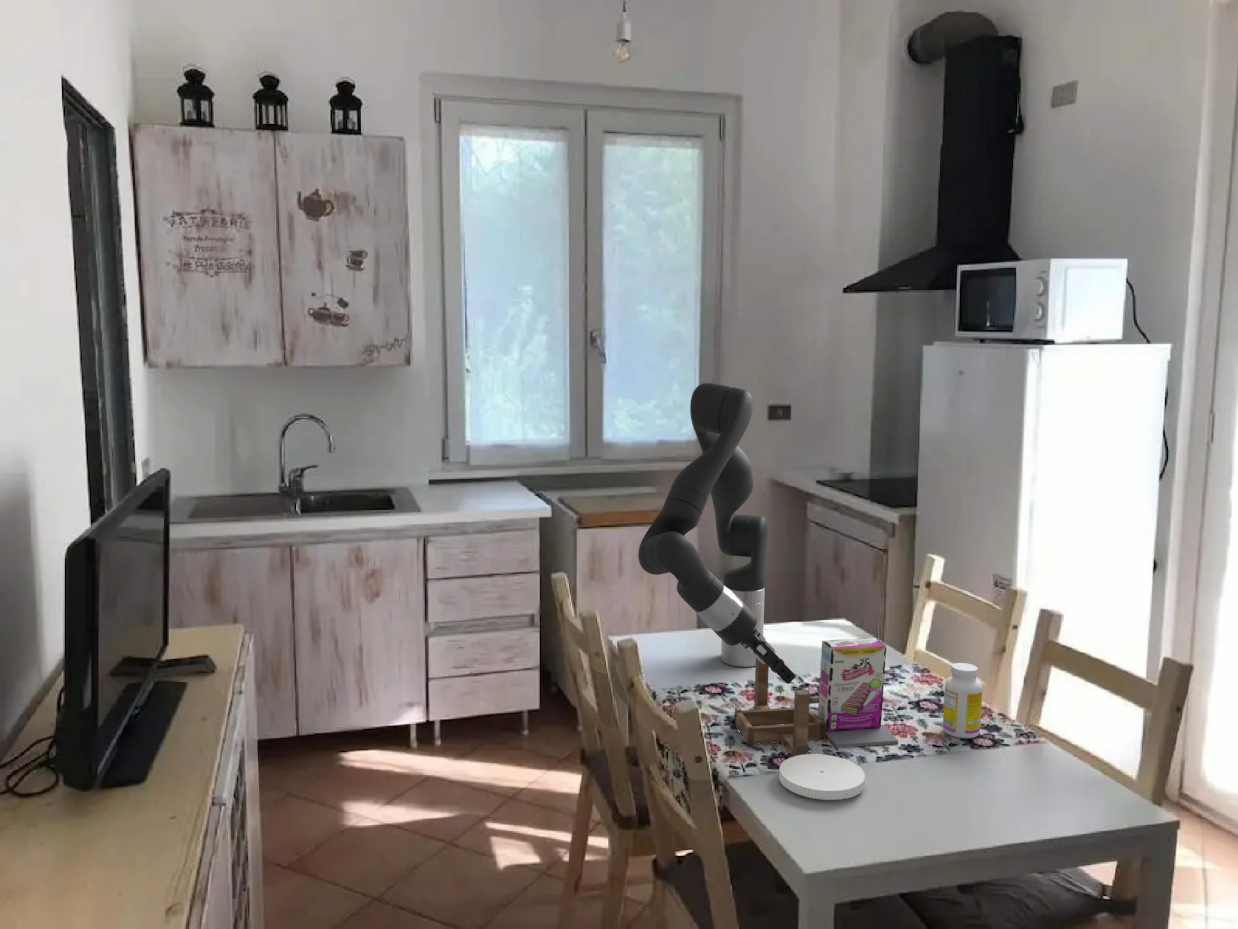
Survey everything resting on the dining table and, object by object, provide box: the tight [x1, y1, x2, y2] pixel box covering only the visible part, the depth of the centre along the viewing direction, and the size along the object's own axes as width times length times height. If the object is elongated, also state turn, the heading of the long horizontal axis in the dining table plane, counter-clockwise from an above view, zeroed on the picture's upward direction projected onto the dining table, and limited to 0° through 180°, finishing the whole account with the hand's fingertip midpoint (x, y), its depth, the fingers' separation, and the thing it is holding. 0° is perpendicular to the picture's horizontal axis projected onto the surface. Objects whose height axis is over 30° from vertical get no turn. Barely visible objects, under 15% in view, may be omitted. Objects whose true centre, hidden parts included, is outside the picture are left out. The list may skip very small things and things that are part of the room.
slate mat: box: [812, 709, 899, 749], centre depth 196 cm, size 16×12×1 cm
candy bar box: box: [817, 637, 887, 732], centre depth 195 cm, size 11×5×16 cm, turn 103°
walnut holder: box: [734, 658, 826, 757], centre depth 193 cm, size 24×15×12 cm, turn 10°
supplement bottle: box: [942, 662, 983, 739], centre depth 194 cm, size 7×7×13 cm
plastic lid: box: [778, 753, 866, 801], centre depth 173 cm, size 14×14×2 cm
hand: (783, 671), depth 192 cm, fingers open, 8 cm apart
